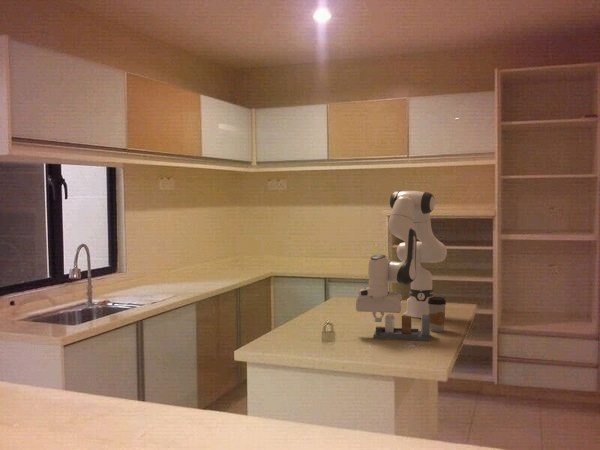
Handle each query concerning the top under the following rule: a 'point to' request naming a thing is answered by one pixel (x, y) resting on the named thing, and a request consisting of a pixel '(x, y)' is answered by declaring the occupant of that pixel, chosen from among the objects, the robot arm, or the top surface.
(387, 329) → the jaw
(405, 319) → the block
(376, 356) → the top surface
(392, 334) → the vise
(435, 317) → the coffee cup
